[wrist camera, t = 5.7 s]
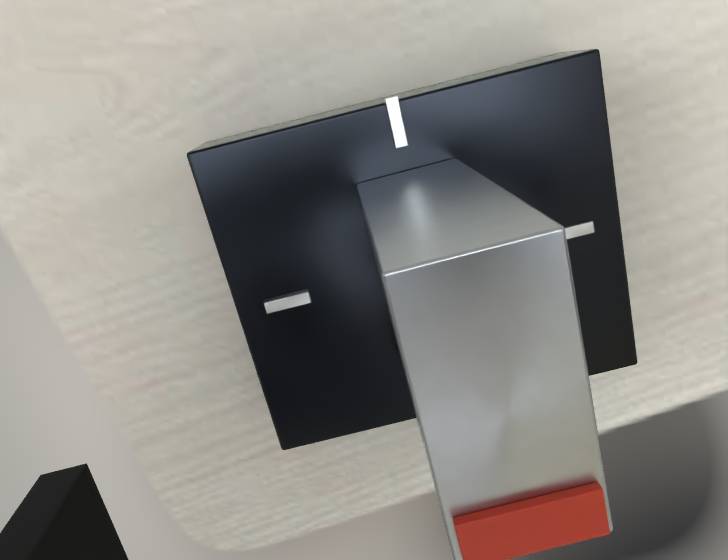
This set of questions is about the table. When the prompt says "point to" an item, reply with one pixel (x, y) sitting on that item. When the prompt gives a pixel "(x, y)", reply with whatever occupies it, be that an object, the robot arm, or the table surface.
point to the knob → (490, 359)
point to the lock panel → (352, 242)
